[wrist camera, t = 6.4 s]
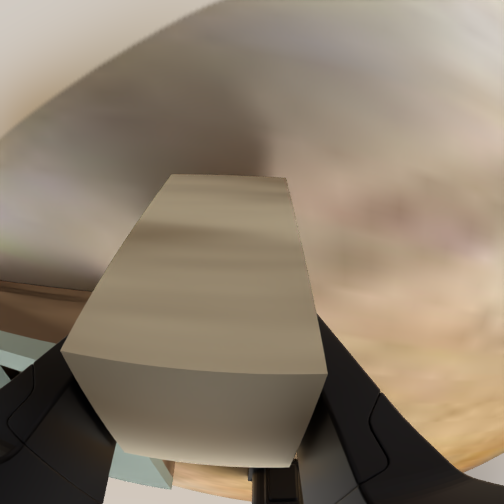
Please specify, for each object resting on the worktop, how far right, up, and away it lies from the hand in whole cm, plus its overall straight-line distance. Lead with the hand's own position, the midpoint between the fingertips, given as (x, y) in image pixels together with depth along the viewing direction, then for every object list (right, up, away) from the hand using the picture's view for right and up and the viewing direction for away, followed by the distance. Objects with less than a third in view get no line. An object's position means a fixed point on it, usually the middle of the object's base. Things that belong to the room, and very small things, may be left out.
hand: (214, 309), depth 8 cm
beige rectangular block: (0, +2, +4) cm, 4 cm away
